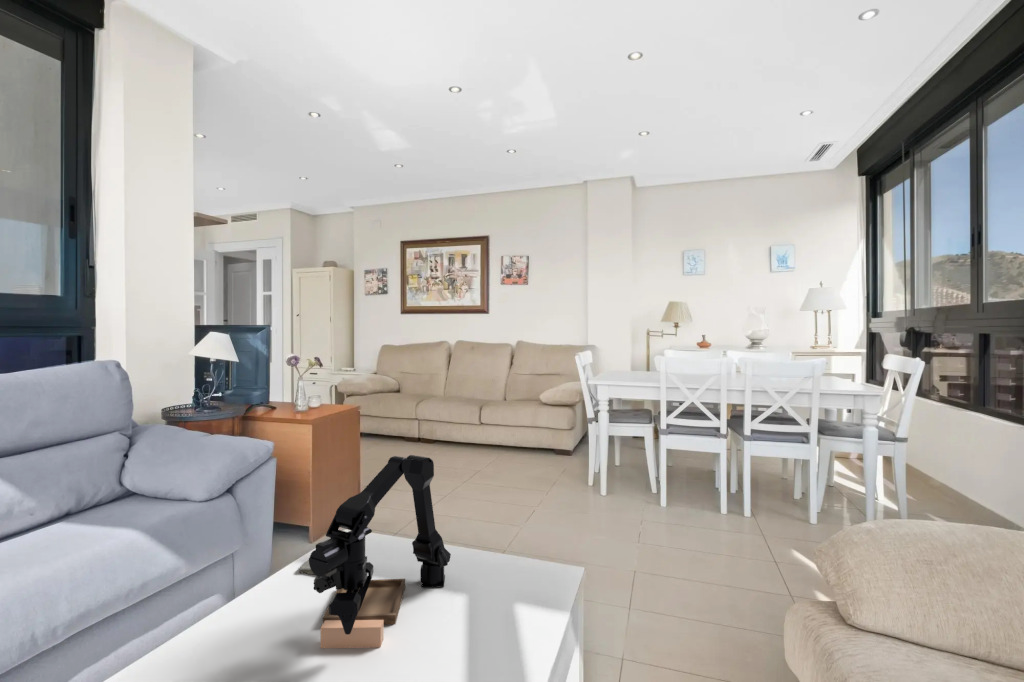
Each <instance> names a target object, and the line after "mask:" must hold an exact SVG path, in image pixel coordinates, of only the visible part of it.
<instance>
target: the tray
mask: <svg viewBox="0 0 1024 682" xmlns="http://www.w3.org/2000/svg"><path fill="white" fill-rule="evenodd" d="M405 588H406V578H388V579H387V578H383V579H371V582H370V584H369V587H368V590H367V592H366V595H365V597H364V600H363V603H362V606H361V608H360V611H359V612H358V614H357V617H356V620H384V625H396V623H397V620H398V616H399V612H400V609H401V604H402V600H403V596H404V593H405V590H406V589H405ZM346 591H347V590H344V589H343V588H342V589H338V590H336V591H335V594H333V597H334V596H335V595H336V594H337V593H346ZM325 620H340V618H339V616H337V615H330V614H329V606H327V609H326V611H325V613H324V614H323V617H322V624H323V623H324V621H325Z"/></svg>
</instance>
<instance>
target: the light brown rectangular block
mask: <svg viewBox="0 0 1024 682" xmlns="http://www.w3.org/2000/svg"><path fill="white" fill-rule="evenodd" d="M384 627H385V626H384V620H355V623H354V625H353V628H352V631H351V633H350V634H345V632H344V629H343V626H342V623H341V620H325V621H324V623H323V622H322V625H321V627H320V649H349V648H350V649H354V648H355V649H356V648H357V649H359V648H360V649H361V648H367V649H368V648H382V645H383V642H384V639H385V637H384V636H385V635H384V633H385V632H384Z"/></svg>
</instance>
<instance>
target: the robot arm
mask: <svg viewBox="0 0 1024 682" xmlns="http://www.w3.org/2000/svg"><path fill="white" fill-rule="evenodd" d="M434 464H435V463H434V460H433V459H431V458H430V457H427V456H421V455H420V456H419V455H414V454H410V455H408V456H407V457H403V456H397V455H393V456H391V457H390V458H388V461H387V463H386V464H385V466H384V467H383V468H381V470H380V471H379V472H378V473H377V475H376V476H375V477H373V479H372V480H371V481H370V482H369V483H368V484H367V486H366V487H364V489H362V491H360V492H359V493H357V494H355V495H353V496H350V497H348V499H346V500H345V501H344V502H343V503H342V504H340V505H339V506H338V507H337V509H336V511H335V514H334V517H333V519H332V521H331V523H330V525H329V526H328V529H327V531H326V533H325V537H326V538H328V539H326V540H324V541H320V542H318V543H316V544H315V549H314V550H313V551H312V552H311V553H310V555H309V558H308V560H309V565H310V568H311V570H312V572H313V573H314V574H313V575H315V577H314V580H313V590H314V591H316V592H317V593H318V594H322V593H324V592H325V591H328V590H330V589H332V588H335V590H336V591H337V590H338V589H342V588H343V589H344V590H347V591H346V593H337V594H336V595H335V594H334V595H335V596H334V595H333V597H332V598H331V601H330V603H329V604H328V607H329V614H330V615H337V616H339V618H340V620H341V623H342V626H343V629H344V632H345V634H350V633H351V631H352V628H353V625H354V623H355V620H356V617H357V614H358V612H359V611H360V608H361V606H362V603H363V600H364V597H365V595H366V592H367V590H368V587H369V584H370V582H371V580H373V576H374V575H373V574H374V565H373V564H372V563H371V562H370V561H368V555H367V556H366V536H367V535H369V534H372V532H373V530H372V529H371V528H369V527H368V526H369V524H370V523H371V521H372V519H373V518H374V517H375V512H376V507H377V506H378V505H379V503H381V502H380V501H381V500H383V498H384V497H385V496H386V494H387V493H388V492H389V491H390V490H391V489H392V488H393V486H394V485H395V484H396V483H397V482H398V480H400V478H401V477H402V476H404V479H405V481H406V482H407V483H408V485H409V486H410V487H411V490H412V497H413V505H414V510H415V511H414V512H415V519H416V525H417V532H418V533H417V534H416V537H415V539H414V540H413V541H412V543H411V545H412V548H413V549H412V550H413V551H412V554H414V556H415V557H416V561H417V562H419V563H422V564H421V565H420V570H419V571H420V575H419V576H420V577H419V580H420V581H419V582H420V583H421V588H422V589H424V588H427V589H428V588H443V587H445V581H446V580H445V579H446V574H445V567H447V566H448V563H449V562H450V560H451V556H452V555H451V553H450V552H449V551H448V550H447V549H446V547H445V544H444V540H443V537H442V536H441V534H440V533H439V532H438V531H437V529H436V524H435V516H434V507H433V500H432V493H431V492H432V491H431V483H432V481H433V479H434V477H435V468H434V467H435V466H434ZM340 529H345V530H348V531H344V530H340Z"/></svg>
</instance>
